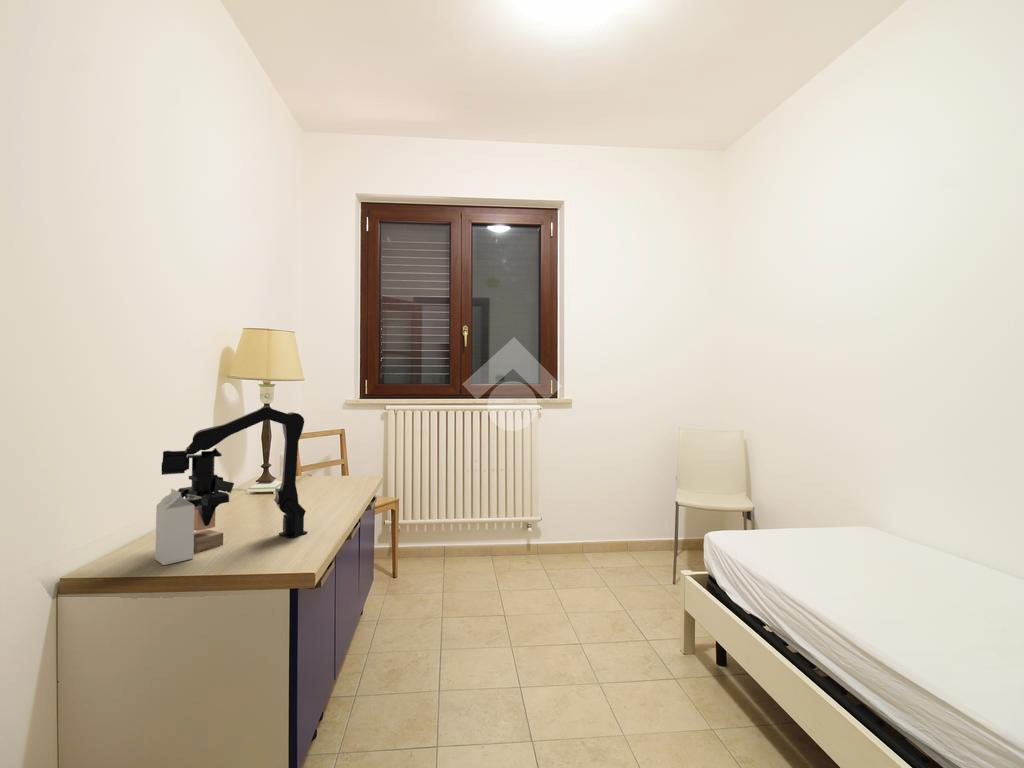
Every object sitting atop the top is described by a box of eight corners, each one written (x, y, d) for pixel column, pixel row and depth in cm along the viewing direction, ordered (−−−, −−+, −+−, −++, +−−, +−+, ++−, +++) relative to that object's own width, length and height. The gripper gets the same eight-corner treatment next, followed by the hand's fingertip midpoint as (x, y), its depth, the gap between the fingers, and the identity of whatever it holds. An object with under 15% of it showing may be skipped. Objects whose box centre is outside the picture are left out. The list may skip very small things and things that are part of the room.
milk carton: (184, 553, 143) (185, 487, 143) (193, 559, 139) (195, 490, 139) (154, 559, 138) (156, 490, 138) (163, 566, 133) (165, 494, 133)
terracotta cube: (215, 527, 150) (215, 507, 150) (197, 530, 146) (197, 510, 146) (206, 524, 153) (206, 504, 153) (188, 528, 148) (189, 508, 149)
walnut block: (222, 546, 151) (223, 532, 151) (196, 553, 144) (197, 539, 144) (205, 542, 155) (205, 529, 155) (179, 549, 147) (179, 536, 147)
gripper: (247, 471, 151) (246, 523, 151) (213, 465, 161) (212, 514, 161) (209, 476, 142) (208, 531, 142) (176, 470, 152) (175, 521, 152)
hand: (202, 524), depth 149 cm, fingers closed on terracotta cube, 5 cm apart
